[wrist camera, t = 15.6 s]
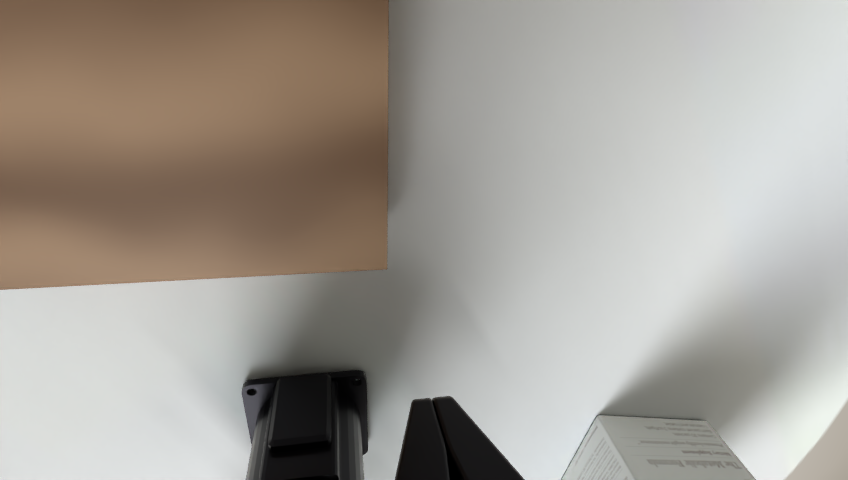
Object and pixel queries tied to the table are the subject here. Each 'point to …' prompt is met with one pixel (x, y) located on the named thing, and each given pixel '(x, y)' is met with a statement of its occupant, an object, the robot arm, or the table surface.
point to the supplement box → (654, 451)
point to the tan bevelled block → (191, 139)
